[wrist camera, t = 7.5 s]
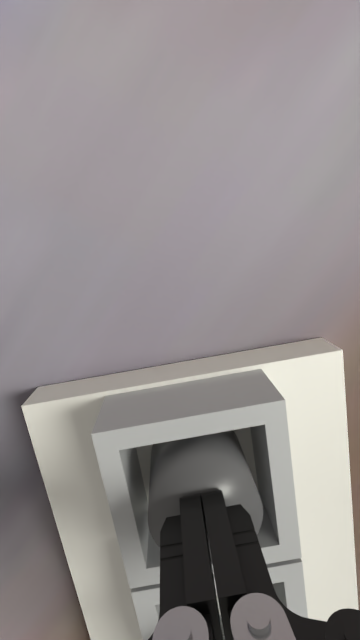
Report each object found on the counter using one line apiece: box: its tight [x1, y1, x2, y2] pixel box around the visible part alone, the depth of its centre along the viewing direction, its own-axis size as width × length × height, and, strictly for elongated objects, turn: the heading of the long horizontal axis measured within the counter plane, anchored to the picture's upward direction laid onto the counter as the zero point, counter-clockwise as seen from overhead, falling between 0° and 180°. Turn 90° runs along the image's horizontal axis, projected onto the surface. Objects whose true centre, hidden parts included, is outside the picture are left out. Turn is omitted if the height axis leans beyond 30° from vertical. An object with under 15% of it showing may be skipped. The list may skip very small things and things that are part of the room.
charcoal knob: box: [148, 430, 263, 563], centre depth 13 cm, size 4×4×4 cm
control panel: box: [21, 337, 358, 640], centre depth 17 cm, size 14×21×5 cm, turn 9°
